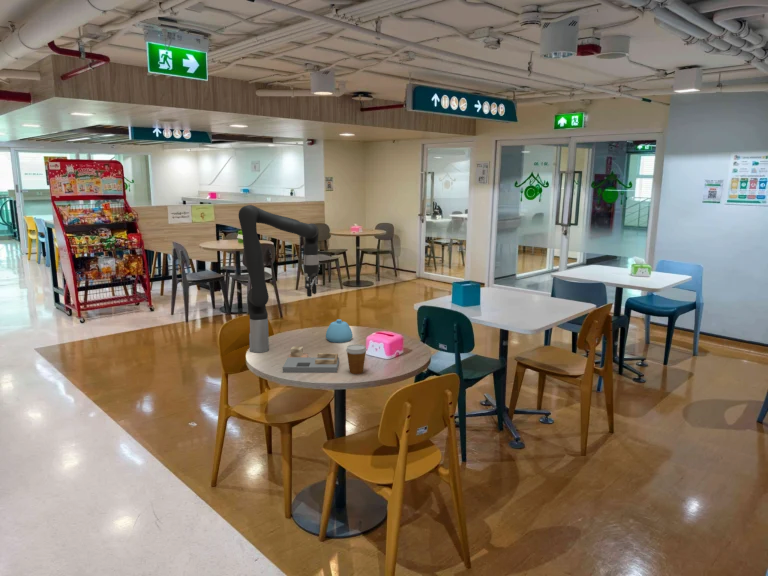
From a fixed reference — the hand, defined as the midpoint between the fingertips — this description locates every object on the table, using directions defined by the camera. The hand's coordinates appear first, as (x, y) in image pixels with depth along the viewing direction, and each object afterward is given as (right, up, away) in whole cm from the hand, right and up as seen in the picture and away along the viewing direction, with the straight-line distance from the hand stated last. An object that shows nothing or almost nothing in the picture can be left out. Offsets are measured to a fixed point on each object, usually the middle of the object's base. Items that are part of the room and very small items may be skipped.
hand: (311, 294), depth 287 cm
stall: (+9, -31, -18) cm, 37 cm away
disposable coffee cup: (+24, -36, -26) cm, 50 cm away
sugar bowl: (+12, -26, +28) cm, 40 cm away
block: (-7, -30, -6) cm, 32 cm away
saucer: (-6, -32, -5) cm, 33 cm away
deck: (+3, -34, -20) cm, 40 cm away
